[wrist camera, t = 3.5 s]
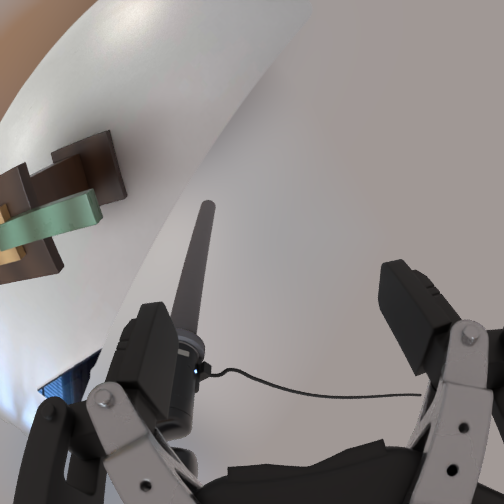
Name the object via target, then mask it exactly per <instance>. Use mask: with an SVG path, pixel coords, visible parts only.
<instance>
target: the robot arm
mask: <svg viewBox="0 0 504 504" xmlns="http://www.w3.org/2000/svg"><path fill="white" fill-rule="evenodd" d="M378 302H379V307H380V310H381V312H382V314H383V316H384V318H385V319H386V321H387V323H388V325H389V327H390V328H391V330H392V332H393V334H394V336H395V338H396V339H397V341H398V343H399V345H400V347H401V349H402V351H403V352H404V354H405V357H406V358H407V360H408V362H409V364H410V366H411V368H412V370H413V372H414V374H415V376H417V375H421V374H423V373H427V375H428V377H429V379H430V380H429V383H428V386H427V391H426V394H425V397H424V401H423V405H422V408H421V412H420V415H419V418H418V421H417V424H416V427H415V429H414V431H413V433H412V435H411V437H410V440H409V442H408V444H407V446H406V448H405V447H393V446H388V447H385V443H384V440H383V439H381V440H378V441H374V442H371V443H368V444H364V445H360V446H357V447H353V448H350V449H346V450H344V451H342V452H340V453H338V454H336V455H334V456H332V457H330V458H327V459H326V460H323V461H321V462H319V463H317V464H314V465H312V466H308V467H299V466H284V465H272V464H261V465H250V466H236V467H228V475H227V476H223V477H221V478H218V479H215V480H213V481H211V482H209V483H207V484H206V485H204V486H203V485H202V484H201V483H200V482H199V481H198V480H197V476H198V464H197V459H196V456H195V454H194V453H193V452H192V451H190V450H187V449H183V448H176V447H170V446H169V444H168V443H167V441H171V440H174V439H180V438H183V437H186V436H187V435H189V434H190V432H191V430H192V419H193V407H194V395H195V393H197V392H198V391H199V382H200V381H202V380H204V379H206V378H208V377H220V376H223V375H224V374H225V373H227V372H229V371H234V372H238V373H241V374H243V375H244V376H246V377H248V378H250V379H252V380H255V381H258V382H261V383H263V384H266V385H269V386H272V387H275V388H278V389H281V390H284V391H288V392H292V393H296V394H302V395H307V396H313V397H321V398H334V399H335V398H336V399H337V398H338V399H357V398H358V399H360V398H378V397H392V396H421V394H388V395H374V396H373V395H372V396H327V395H318V394H311V393H305V392H301V391H296V390H292V389H288V388H285V387H281V386H278V385H275V384H272V383H269V382H267V381H264V380H262V379H259V378H256V377H253V376H251V375H249V374H247V373H246V372H244V371H241V370H239V369H235V368H227V369H225V370H224V371H223V372H221V373H219V374H211V365H209V364H208V363H206V362H205V361H204V362H202V363H201V359H202V358H201V357H200V356H199V354H198V351H197V349H196V348H195V347H194V346H193V345H191V344H190V343H188V342H185V341H182V340H178V334H177V331H176V329H175V327H174V325H173V322H172V320H171V318H170V316H169V313H168V311H167V309H166V306H165V305H164V303H163V302H154V303H147V304H142V305H141V307H140V310H139V313H138V315H137V318H136V319H131V321H130V322H129V323H128V324H127V325H126V327H125V328H124V329H123V332H122V334H121V337H120V342H119V343H118V345H117V348H116V349H117V351H115V353H114V356H113V359H112V362H111V365H110V368H109V371H108V374H107V377H106V380H105V382H104V383H101V384H99V385H97V386H96V387H95V388H94V389H93V390H92V391H91V392H90V394H89V395H88V397H87V400H85V401H81V402H78V403H74V404H70V405H67V404H66V402H65V401H64V400H63V399H61V398H60V397H56V396H54V397H50V398H47V399H46V400H44V401H43V402H42V403H41V404H40V406H39V407H38V409H37V412H36V415H35V418H34V421H33V424H32V427H31V430H30V434H29V437H28V441H27V444H26V448H25V451H24V455H23V459H22V463H21V467H20V472H19V476H18V481H17V486H16V491H15V496H14V502H13V504H104V493H105V483H106V474H107V473H108V475H109V477H110V479H111V481H112V483H113V485H114V486H115V488H116V490H117V492H118V494H119V496H120V497H121V499H122V501H123V502H124V504H504V494H502V493H500V492H498V491H495V490H493V489H490V488H489V487H486V486H484V485H482V484H480V483H478V478H479V475H480V471H481V467H482V463H483V459H484V454H485V449H486V445H487V439H488V434H489V428H490V421H491V414H492V416H493V418H494V420H495V423H496V425H497V427H498V430H499V432H500V435H501V437H502V440H503V442H504V327H503V329H498V330H485V328H484V327H483V326H482V325H480V324H479V323H477V322H475V321H472V320H462V319H461V318H460V317H459V315H458V314H457V313H456V312H455V310H454V309H453V308H452V306H451V305H450V304H449V303H448V301H447V300H446V299H445V298H444V296H443V295H442V294H440V291H439V290H438V289H437V288H436V287H434V284H433V283H432V282H431V281H430V279H428V277H427V276H425V275H424V274H422V273H421V272H419V271H417V270H411V269H410V267H409V266H408V265H407V264H406V263H405V262H404V261H403V260H402V259H399V260H395V261H390V262H385V263H383V264H382V266H381V274H380V283H379V293H378ZM68 451H70V452H71V458H70V463H69V469H68V474H67V480H65V478H64V467H65V462H66V458H67V453H68Z"/></svg>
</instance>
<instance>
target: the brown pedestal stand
mask: <svg viewBox="0 0 504 504" xmlns="http://www.w3.org/2000/svg"><path fill="white" fill-rule="evenodd" d="M51 156H52V160H53V163H54V164H52V165H50V166H48V167H46V168H44V169H42V170H40V171H38V172H36V173H34V174H32V175H29V172H28V168H27V165H26V162H24V163H22V164H20V165H18V166H16V167H14V168H12V169H10V170H9V171H7V172H5V173H3V174H1V175H0V206H2V205H4V204H6V206H7V209H8V211H9V214H10V217H14V216H16V215H19V214H21V213H24V212H26V211H29V210H31V209H34V208H37V207H39V206H42V205H45V204H47V203H50V202H53V201H56V200H59V199H62V198H64V197H67V196H70V195H73V194H76V193H79V192H82V191H86V190H89V189H92V188H93V189H94V192H95V195H96V198H97V201H98V204H99V206H100V205H104V204H108V203H112V202H115V201H119V200H123V199H125V198H126V197H127V194H126V191H125V187H124V184H123V180H122V177H121V173H120V170H119V166H118V162H117V159H116V155H115V151H114V147H113V143H112V139H111V135H110V131H109V130H108V131H105V132H102V133H99V134H96V135H94V136H91V137H88V138H86V139H83V140H81V141H78V142H76V143H73V144H71V145H68V146H66V147H64V148H61V149H59V150H57V151H54V152H52V153H51ZM22 246H23V248H24V250H25V253H26V255H25V256H24V257H23V258H22V259H21V260H18V261H14V262H11V263H7V264H3V265H0V285H1V284H6V283H11V282H16V281H22V280H27V279H32V278H37V277H42V276H47V275H53V274H58V273H59V272H60V271H61V270H62V269H63V267H64V264H63V262H62V259H61V257H60V255H59V253H58V250H57V248H56V246H55V244H54V241H53V239H52V236H51V237H48V238H44V239H41V240H37V241H34V242H31V243H27V244H24V245H22Z"/></svg>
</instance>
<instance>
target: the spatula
mask: <svg viewBox="0 0 504 504" xmlns="http://www.w3.org/2000/svg"><path fill="white" fill-rule="evenodd" d="M102 218H103V215H102V213H101V210H100V207H99V204H98V201H97V198H96V195H95V192H94V189H93V188H92V189H89V190H86V191H82V192H79V193H76V194H73V195H70V196H67V197H64V198H62V199H59V200H56V201H53V202H50V203H47V204H45V205H42V206H39V207H37V208H34V209H31V210H29V211H26V212H24V213H21V214H19V215H16V216H14V217H10V214H9V211H8V209H7V206H6V204H4V205H2V206H0V265H3V264H7V263H11V262H14V261H18V260H21V259H22V258H23V257H24V256H25V255H26V253H25V250H24V248H23V246H22V245H24V244H27V243H31V242H34V241H37V240H41V239H44V238H48V237H51V236H55V235H58V234H62V233H66V232H69V231H73V230H77V229H80V228H84V227H88V226H92V225H96V224H97V223H98V222H99V221H100V220H101V219H102Z"/></svg>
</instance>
